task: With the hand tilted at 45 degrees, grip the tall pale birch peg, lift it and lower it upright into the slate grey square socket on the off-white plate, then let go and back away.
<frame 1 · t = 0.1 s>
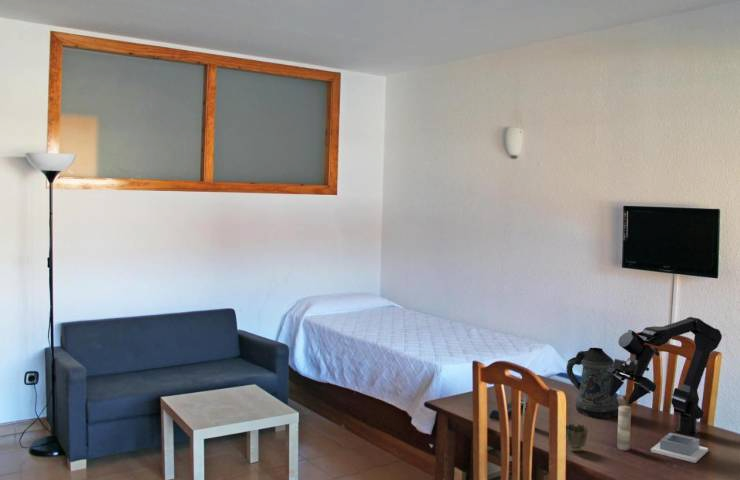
hand: (619, 400, 239), 15 cm above the table, tool tilted 35°, fingers open, 9 cm apart
beer stein: (593, 412, 273), on the table
cup: (575, 451, 231), on the table
socket block: (679, 451, 231), on the table
peg: (623, 448, 234), on the table
handle: (528, 427, 254), on the table
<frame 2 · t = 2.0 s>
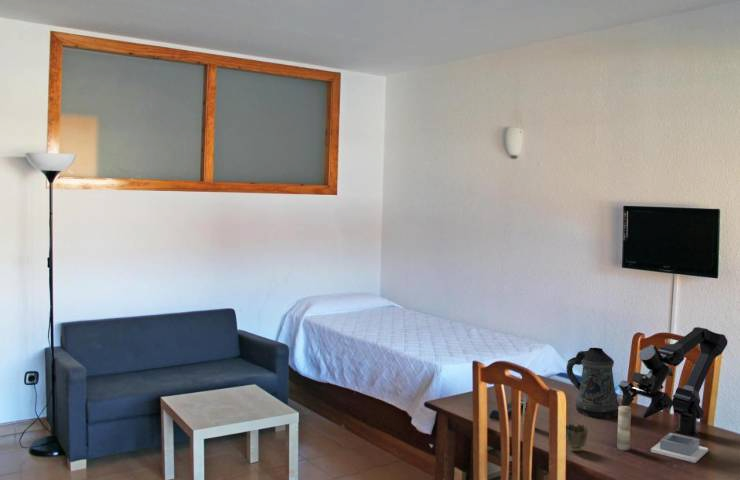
hand: (632, 413, 235), 11 cm above the table, tool tilted 45°, fingers open, 9 cm apart
nothing on the table moved.
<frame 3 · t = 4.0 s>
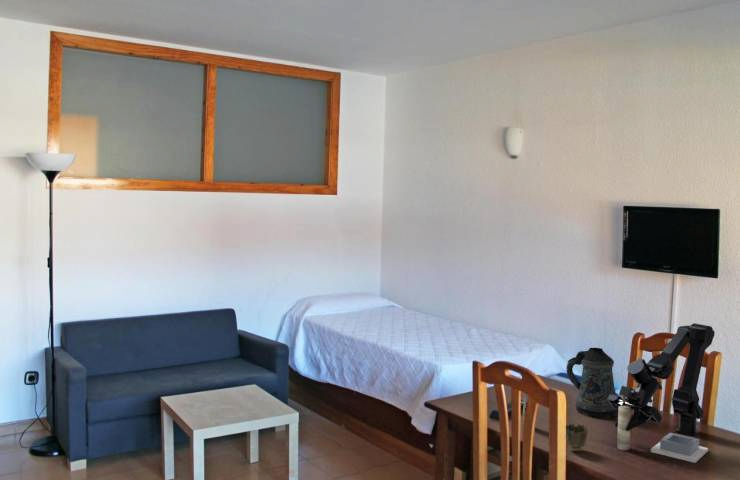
hand: (621, 428, 232), 7 cm above the table, tool tilted 45°, fingers closed on peg, 4 cm apart
peg: (623, 448, 234), on the table, touching gripper
everything else where it was.
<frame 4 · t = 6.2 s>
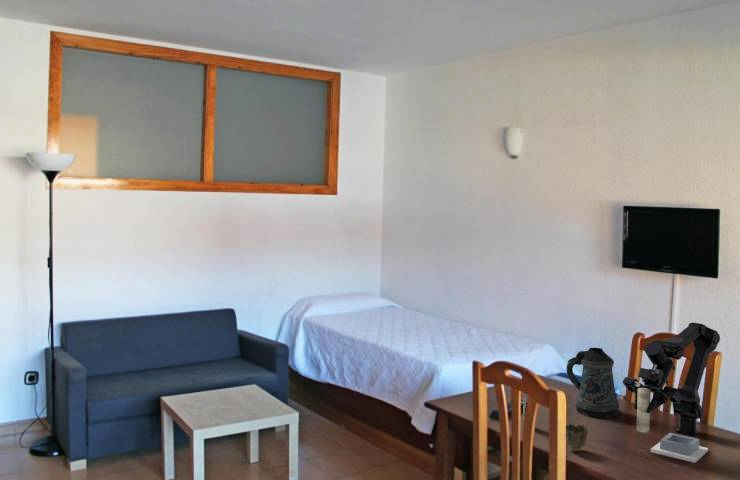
hand: (641, 410, 230), 14 cm above the table, tool tilted 45°, fingers closed on peg, 4 cm apart
peg: (642, 430, 231), point 7 cm above the table, touching gripper
everything else where it was.
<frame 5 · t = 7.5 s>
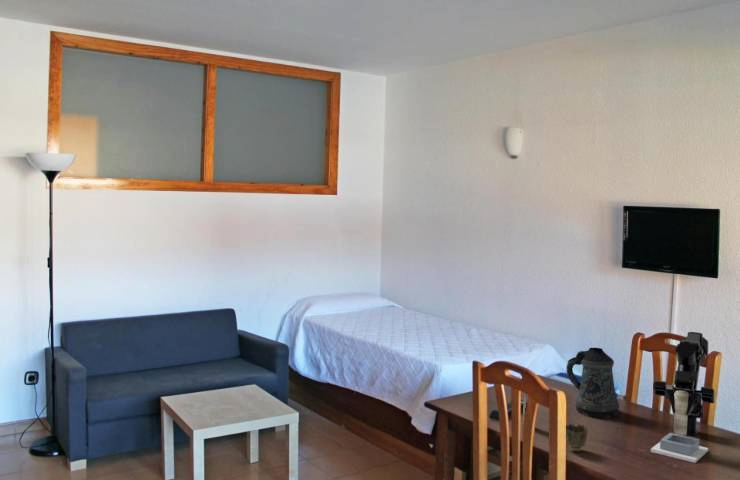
hand: (680, 413, 229), 13 cm above the table, tool tilted 45°, fingers closed on peg, 4 cm apart
peg: (680, 433, 231), point 6 cm above the table, touching gripper
everything else where it was.
when the fingers open (9 cm above the table, at t = 8.7 s): peg stays where it is, resting on socket block.
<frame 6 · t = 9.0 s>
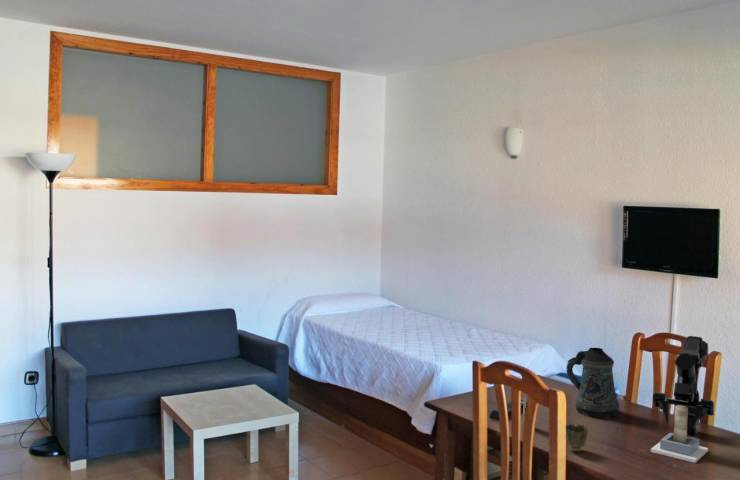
hand: (679, 426, 229), 9 cm above the table, tool tilted 45°, fingers open, 8 cm apart
peg: (679, 448, 231), point 1 cm above the table, touching socket block
everything else where it was.
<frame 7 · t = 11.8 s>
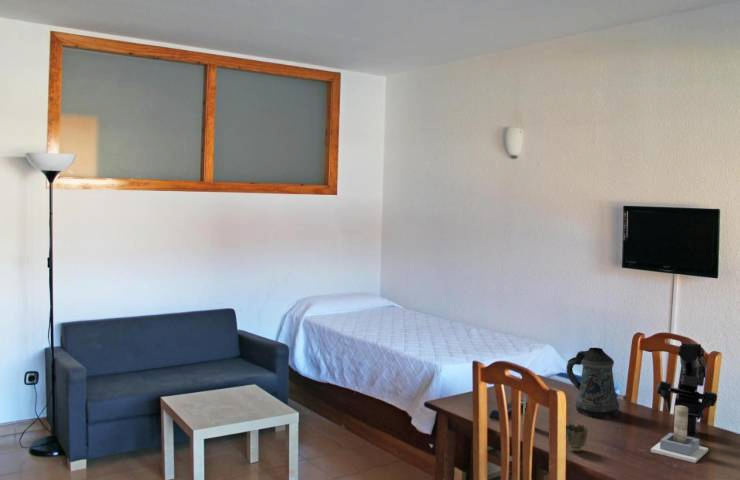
hand: (683, 416, 237), 10 cm above the table, tool tilted 40°, fingers open, 9 cm apart
nothing on the table moved.
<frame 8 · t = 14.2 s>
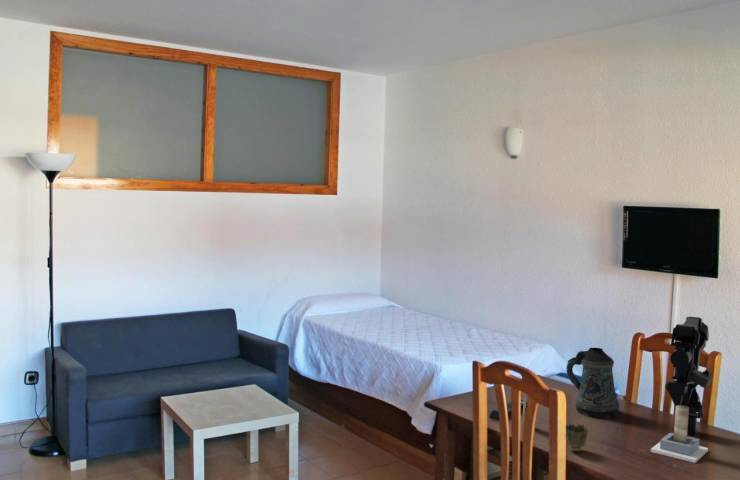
hand: (682, 406, 238), 13 cm above the table, tool pointing down, fingers open, 9 cm apart
nothing on the table moved.
at the end: peg 0.0 cm off-centre on the socket block, point 1.1 cm above the socket block's base; peg tilted 2°; the gripper is holding nothing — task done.
